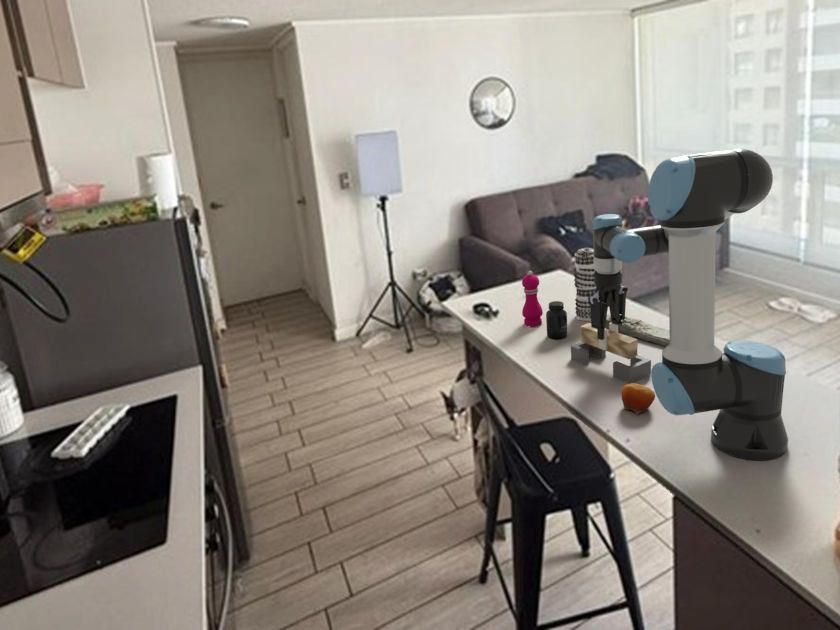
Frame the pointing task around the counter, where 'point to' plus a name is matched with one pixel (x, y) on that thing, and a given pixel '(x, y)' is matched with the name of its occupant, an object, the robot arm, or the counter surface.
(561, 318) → the supplement bottle
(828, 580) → the counter surface
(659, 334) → the long grey stone
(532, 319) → the pepper mill
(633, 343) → the oak slat
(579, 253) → the decorative candle
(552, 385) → the counter surface
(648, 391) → the fruit
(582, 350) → the end caps
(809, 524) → the counter surface
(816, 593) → the counter surface
